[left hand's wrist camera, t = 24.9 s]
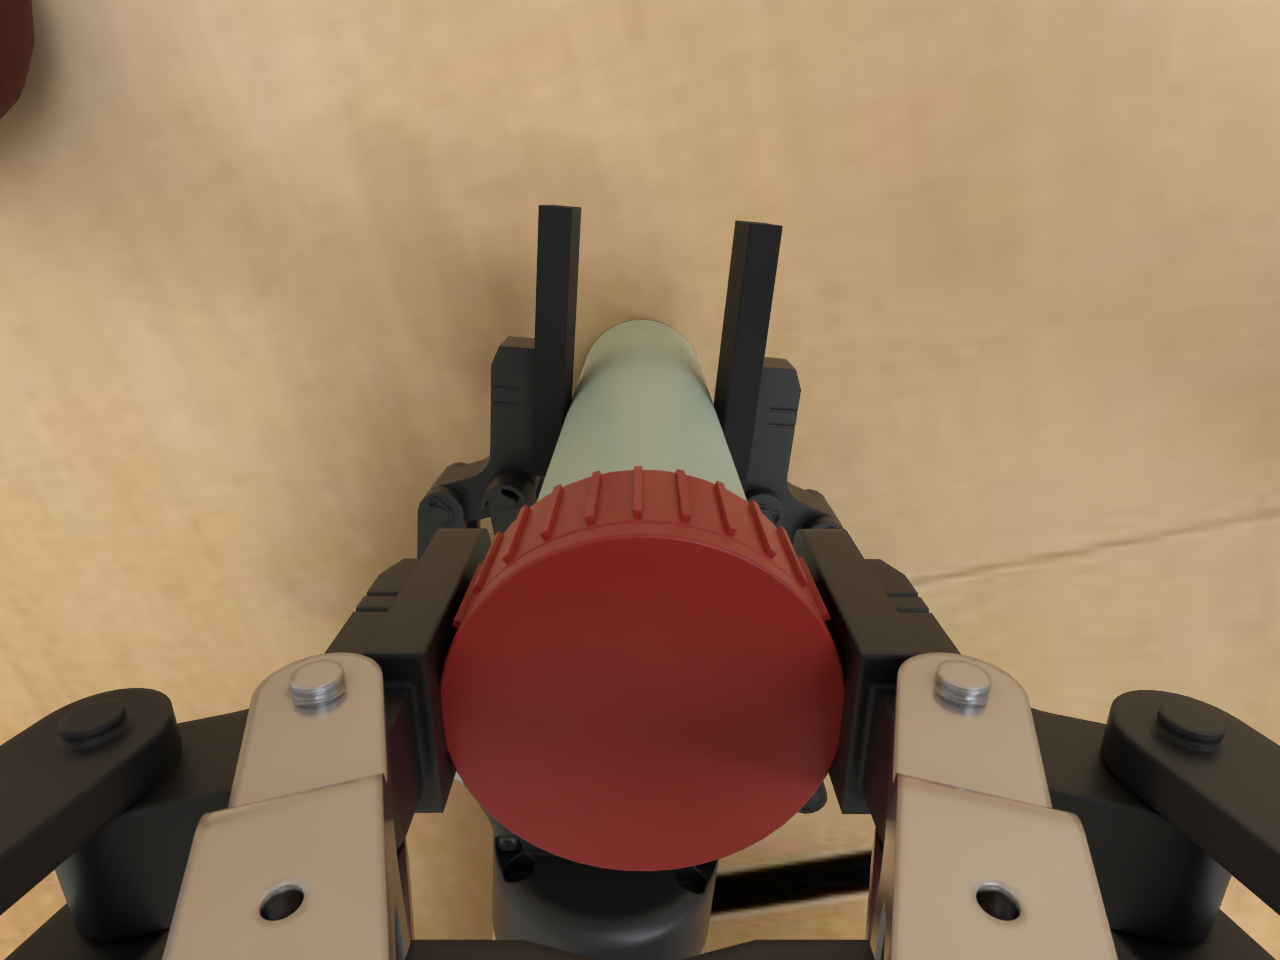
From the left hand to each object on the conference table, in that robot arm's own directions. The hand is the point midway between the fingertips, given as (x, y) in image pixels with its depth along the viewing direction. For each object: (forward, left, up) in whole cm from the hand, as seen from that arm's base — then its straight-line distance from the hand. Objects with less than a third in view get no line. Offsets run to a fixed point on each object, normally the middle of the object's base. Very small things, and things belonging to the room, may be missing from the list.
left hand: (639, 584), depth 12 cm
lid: (0, 0, +3) cm, 3 cm away
